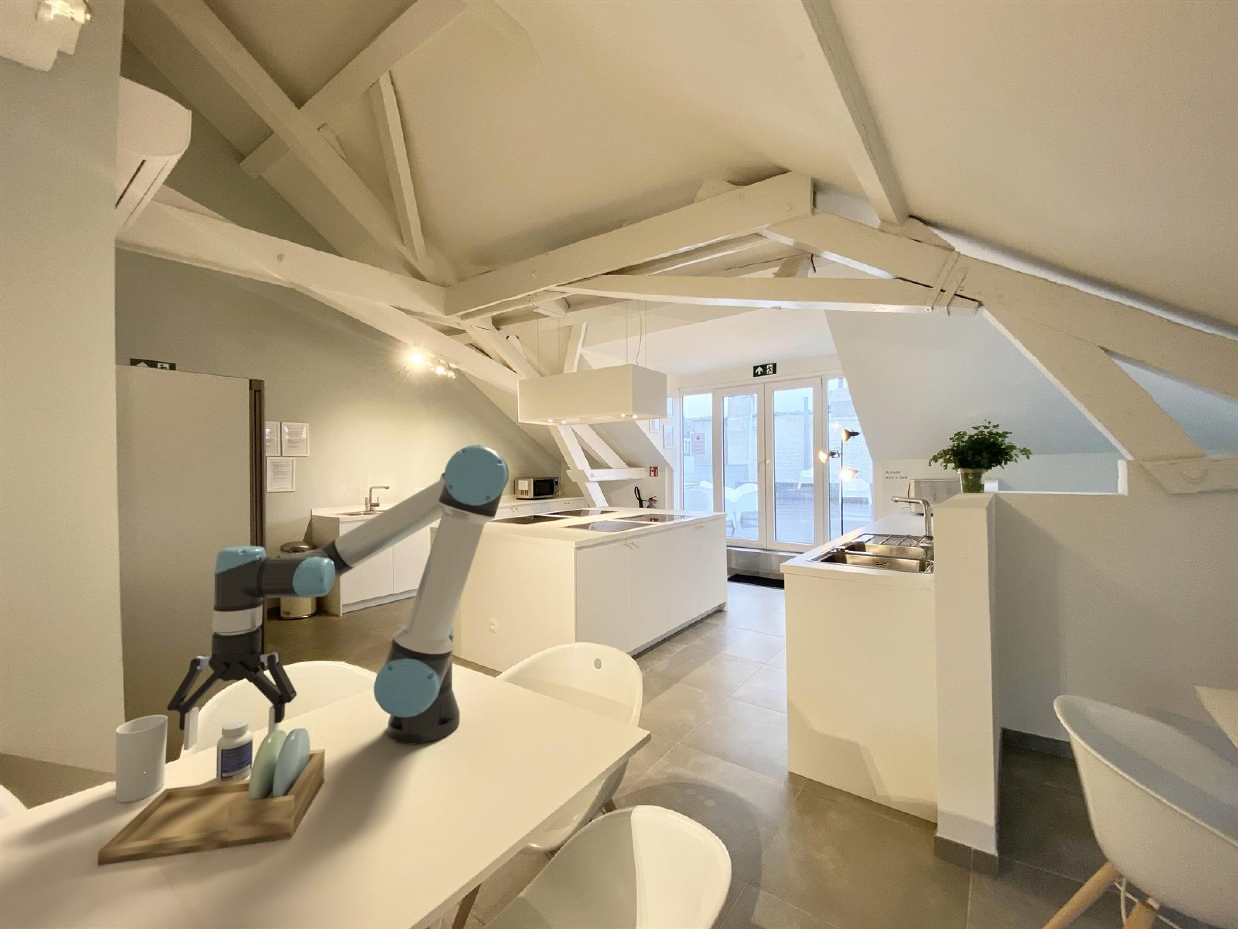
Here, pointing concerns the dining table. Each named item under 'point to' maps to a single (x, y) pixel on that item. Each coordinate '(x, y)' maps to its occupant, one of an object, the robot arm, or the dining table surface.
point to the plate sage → (265, 765)
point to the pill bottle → (234, 752)
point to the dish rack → (214, 818)
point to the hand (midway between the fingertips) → (232, 743)
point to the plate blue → (291, 761)
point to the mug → (140, 757)
